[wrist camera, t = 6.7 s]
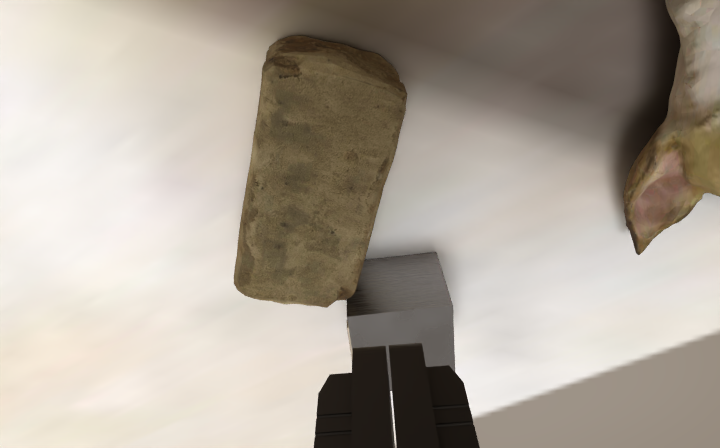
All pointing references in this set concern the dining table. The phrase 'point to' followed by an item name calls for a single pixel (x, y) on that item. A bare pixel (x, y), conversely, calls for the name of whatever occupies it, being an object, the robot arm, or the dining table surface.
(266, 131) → the stone block
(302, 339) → the dining table surface
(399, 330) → the charcoal block
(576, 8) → the dining table surface
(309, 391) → the dining table surface
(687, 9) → the ceramic sculpture
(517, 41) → the dining table surface
